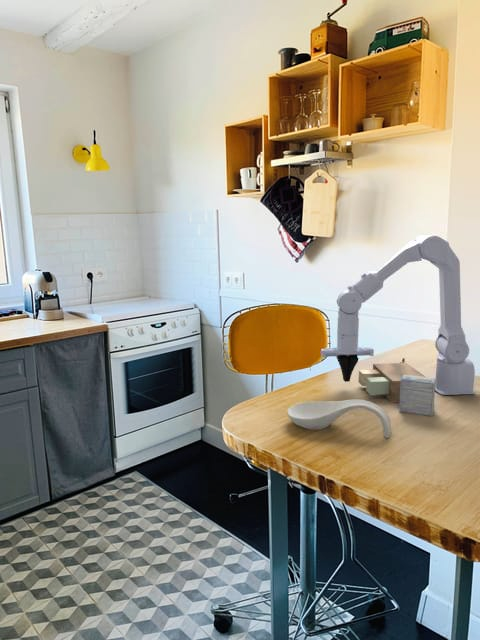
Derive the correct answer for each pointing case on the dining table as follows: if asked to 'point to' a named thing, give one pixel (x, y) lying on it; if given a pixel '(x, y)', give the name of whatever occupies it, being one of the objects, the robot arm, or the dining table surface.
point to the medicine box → (417, 395)
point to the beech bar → (367, 375)
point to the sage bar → (377, 385)
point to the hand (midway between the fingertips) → (346, 380)
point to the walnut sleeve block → (395, 377)
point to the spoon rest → (332, 413)
